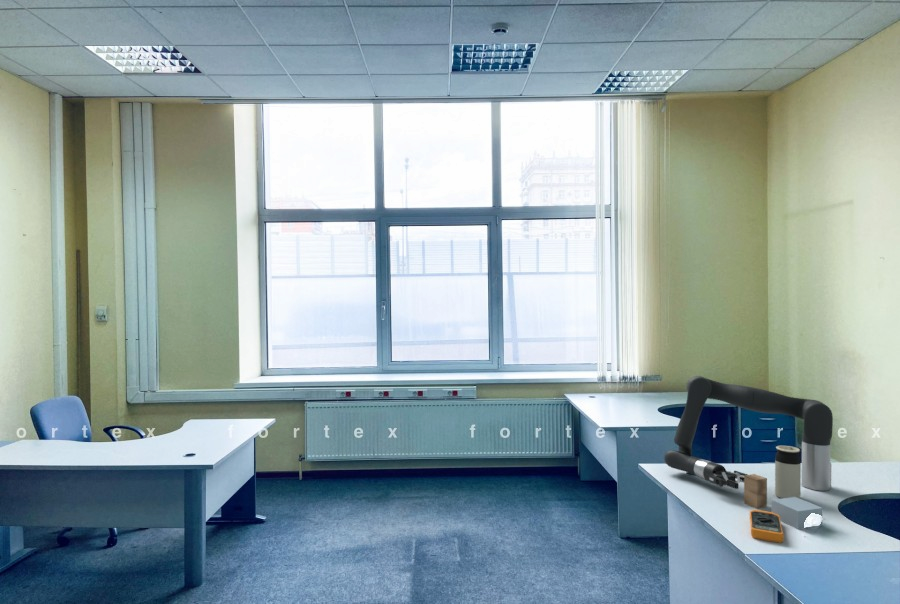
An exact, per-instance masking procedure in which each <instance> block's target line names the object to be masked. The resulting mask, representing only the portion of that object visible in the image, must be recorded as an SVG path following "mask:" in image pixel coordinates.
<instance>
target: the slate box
mask: <svg viewBox="0 0 900 604" xmlns="http://www.w3.org/2000/svg"><path fill="white" fill-rule="evenodd" d="M823 511H824V509H823V507H821V506H819V505H817V504H814V503H811V502H809V501H806V500H804V499H802V498H800V499H799V498H797V497H790V498H776V499H771V512H772V513H775V514H777V515H779V516H780V522H781V523H783V524H786V525H788V526H789V527H792V528H794V529H796V530H803V529H802V528H804V522H805V520H806V518H807V517H808V516H809V515H810V514H811V513H815V514H819V515H821V516H822V517H823ZM822 526H823V521H822V522H821V524H820V526H819V527H822ZM804 529H805V528H804Z"/></svg>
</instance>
